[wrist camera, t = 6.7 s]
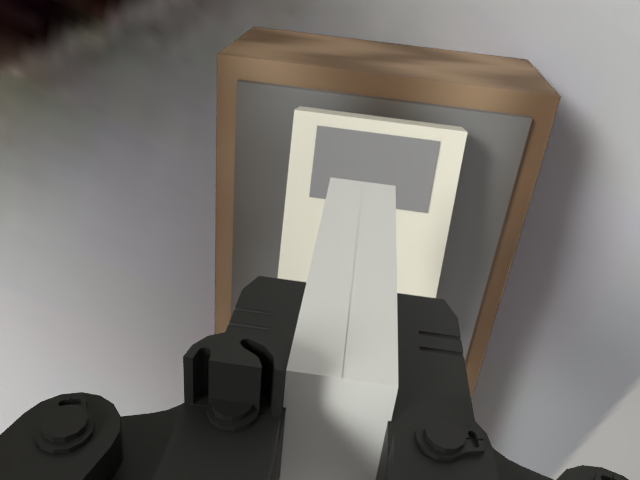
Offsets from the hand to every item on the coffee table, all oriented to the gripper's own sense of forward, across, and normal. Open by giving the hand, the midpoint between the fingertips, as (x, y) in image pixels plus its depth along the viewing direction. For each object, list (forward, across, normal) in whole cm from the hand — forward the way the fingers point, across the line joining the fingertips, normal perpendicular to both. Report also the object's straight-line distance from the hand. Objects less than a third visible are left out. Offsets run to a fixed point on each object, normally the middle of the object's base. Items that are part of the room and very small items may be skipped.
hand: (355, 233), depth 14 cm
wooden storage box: (+14, 0, -14) cm, 20 cm away
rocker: (+6, 0, -3) cm, 7 cm away
